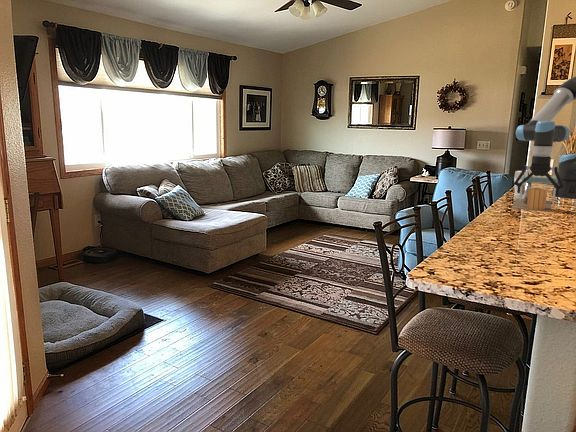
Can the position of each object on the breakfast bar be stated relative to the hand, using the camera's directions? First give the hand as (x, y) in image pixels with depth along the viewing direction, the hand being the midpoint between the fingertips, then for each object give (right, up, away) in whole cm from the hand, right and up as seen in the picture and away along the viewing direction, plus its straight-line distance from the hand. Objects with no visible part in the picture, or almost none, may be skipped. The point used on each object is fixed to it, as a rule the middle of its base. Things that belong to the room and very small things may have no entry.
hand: (536, 201), depth 212 cm
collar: (0, -3, +1) cm, 3 cm away
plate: (+3, -3, +9) cm, 9 cm away
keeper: (+11, +10, +15) cm, 21 cm away
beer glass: (+7, +2, +30) cm, 31 cm away
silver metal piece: (+4, +1, +16) cm, 17 cm away
